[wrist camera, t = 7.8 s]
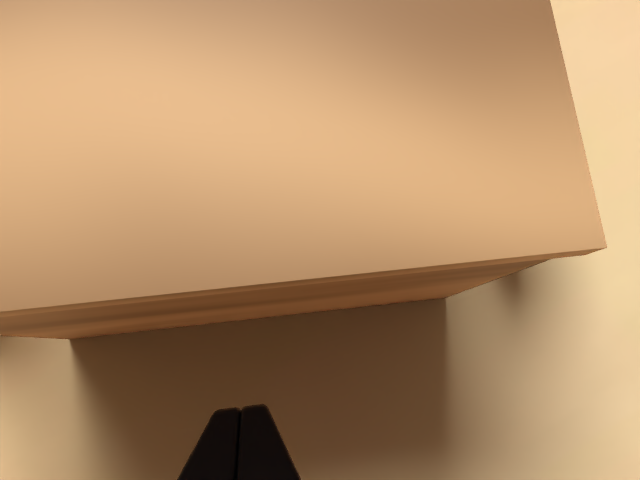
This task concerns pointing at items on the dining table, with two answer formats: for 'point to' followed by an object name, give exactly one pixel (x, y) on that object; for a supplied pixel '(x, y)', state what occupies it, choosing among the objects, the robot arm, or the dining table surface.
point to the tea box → (277, 157)
